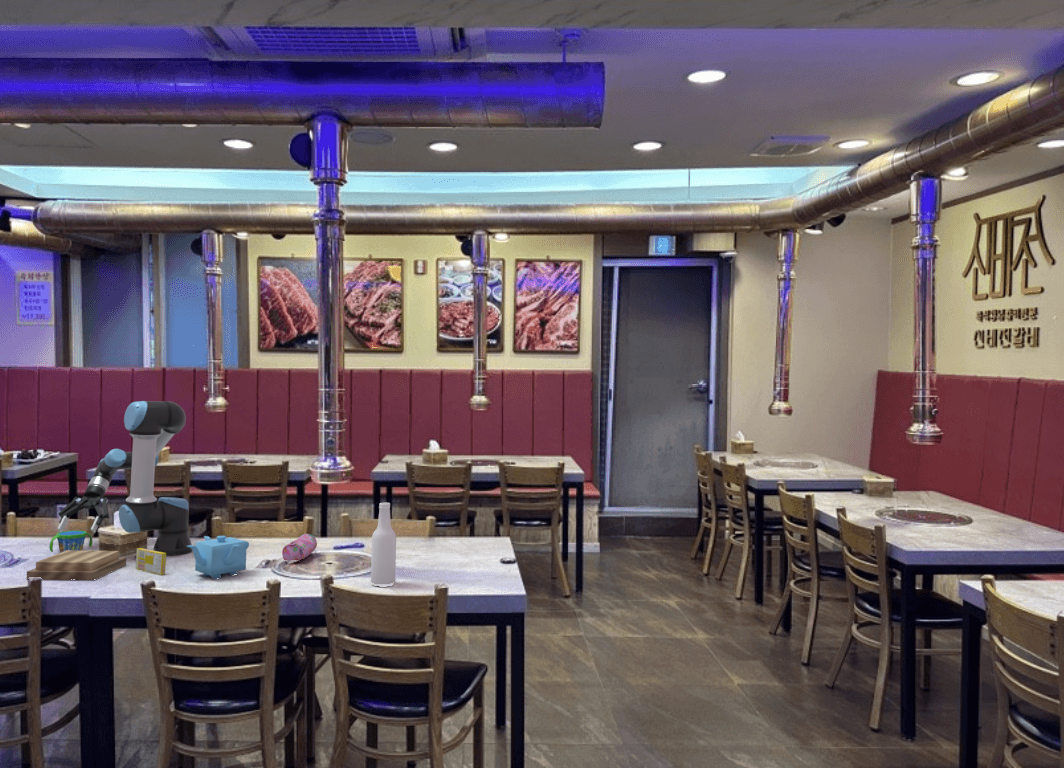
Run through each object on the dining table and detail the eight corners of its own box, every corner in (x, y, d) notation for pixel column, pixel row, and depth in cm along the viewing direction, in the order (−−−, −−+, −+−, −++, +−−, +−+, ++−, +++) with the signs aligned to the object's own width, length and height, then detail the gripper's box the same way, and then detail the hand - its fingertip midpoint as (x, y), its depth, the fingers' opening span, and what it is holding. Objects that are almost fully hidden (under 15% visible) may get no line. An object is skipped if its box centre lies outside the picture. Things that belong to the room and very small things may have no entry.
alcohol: (396, 581, 289) (398, 501, 289) (393, 587, 280) (395, 505, 280) (373, 581, 288) (374, 501, 288) (368, 587, 280) (370, 504, 280)
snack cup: (88, 552, 326) (88, 528, 326) (96, 556, 318) (96, 532, 318) (45, 558, 315) (46, 533, 315) (52, 562, 307) (53, 537, 307)
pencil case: (301, 565, 312) (302, 542, 312) (279, 564, 312) (279, 542, 312) (318, 553, 333) (318, 532, 333) (297, 553, 334) (298, 532, 334)
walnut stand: (126, 565, 306) (126, 549, 306) (93, 580, 282) (94, 564, 282) (64, 564, 305) (64, 549, 305) (26, 579, 281) (26, 563, 281)
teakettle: (251, 569, 304) (252, 531, 304) (238, 581, 285) (239, 541, 285) (201, 569, 302) (202, 531, 302) (185, 581, 283) (186, 541, 283)
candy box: (166, 574, 293) (166, 552, 293) (160, 575, 291) (161, 553, 291) (140, 568, 301) (140, 547, 301) (135, 569, 299) (135, 548, 299)
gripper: (128, 495, 340) (109, 536, 325) (70, 494, 339) (49, 535, 325) (122, 485, 335) (103, 526, 320) (63, 483, 334) (42, 525, 319)
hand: (76, 531), depth 322 cm, fingers open, 13 cm apart
